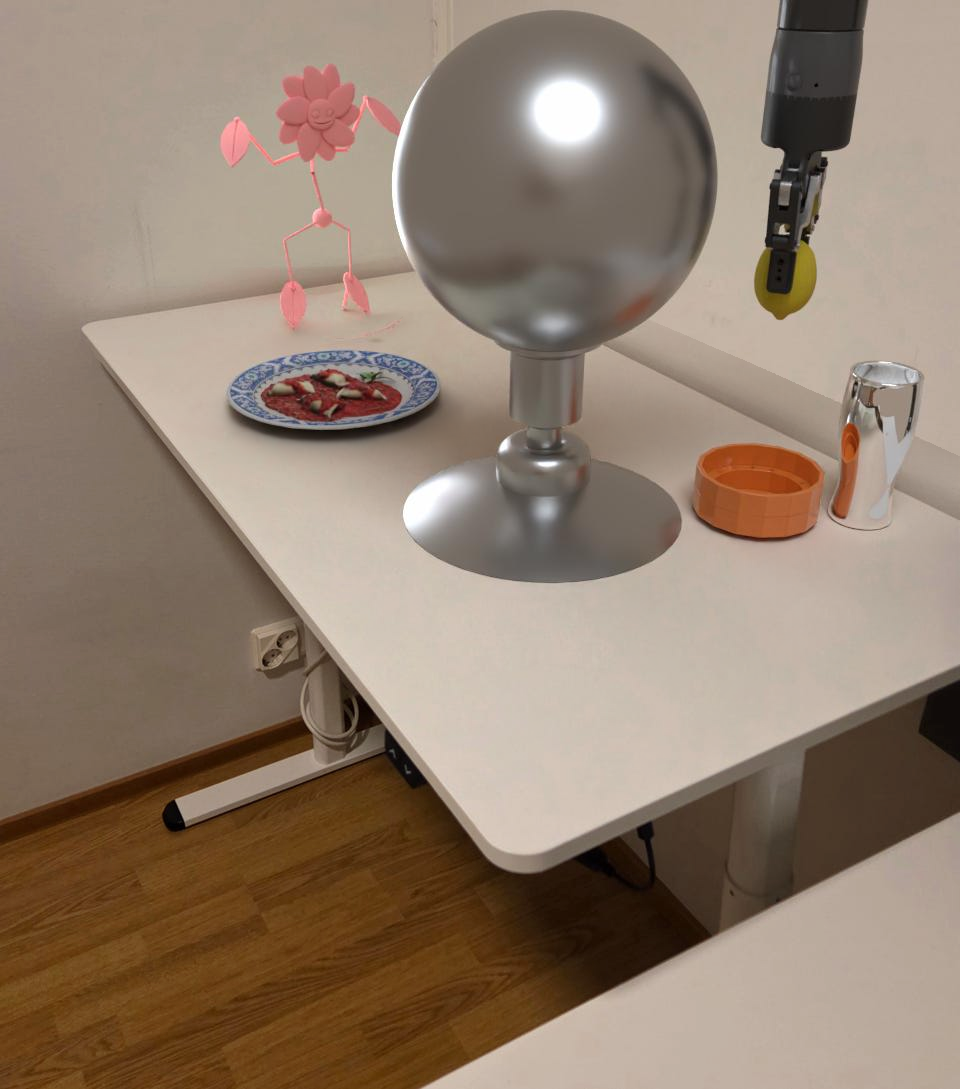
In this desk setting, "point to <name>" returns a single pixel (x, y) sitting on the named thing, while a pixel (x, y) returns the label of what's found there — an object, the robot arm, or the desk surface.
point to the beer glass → (874, 440)
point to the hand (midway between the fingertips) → (785, 282)
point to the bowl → (758, 490)
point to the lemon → (801, 284)
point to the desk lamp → (551, 271)
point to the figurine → (313, 154)
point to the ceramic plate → (333, 389)
